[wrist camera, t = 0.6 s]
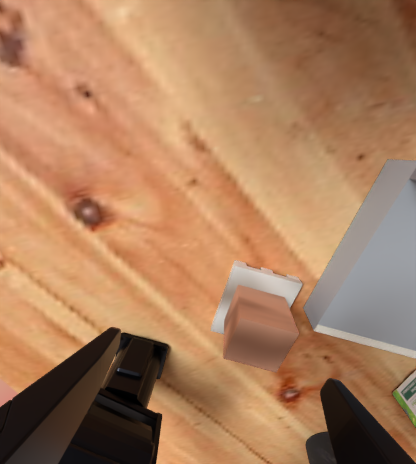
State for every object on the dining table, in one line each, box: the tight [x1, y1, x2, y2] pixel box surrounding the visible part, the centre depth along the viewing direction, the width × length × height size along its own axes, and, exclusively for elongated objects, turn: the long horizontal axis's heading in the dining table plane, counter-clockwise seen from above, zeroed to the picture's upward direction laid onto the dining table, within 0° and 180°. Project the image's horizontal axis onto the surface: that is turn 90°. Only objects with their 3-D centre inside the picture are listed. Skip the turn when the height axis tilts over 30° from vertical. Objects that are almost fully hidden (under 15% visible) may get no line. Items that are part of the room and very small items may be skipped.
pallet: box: [211, 260, 303, 372], centre depth 20 cm, size 9×7×6 cm
